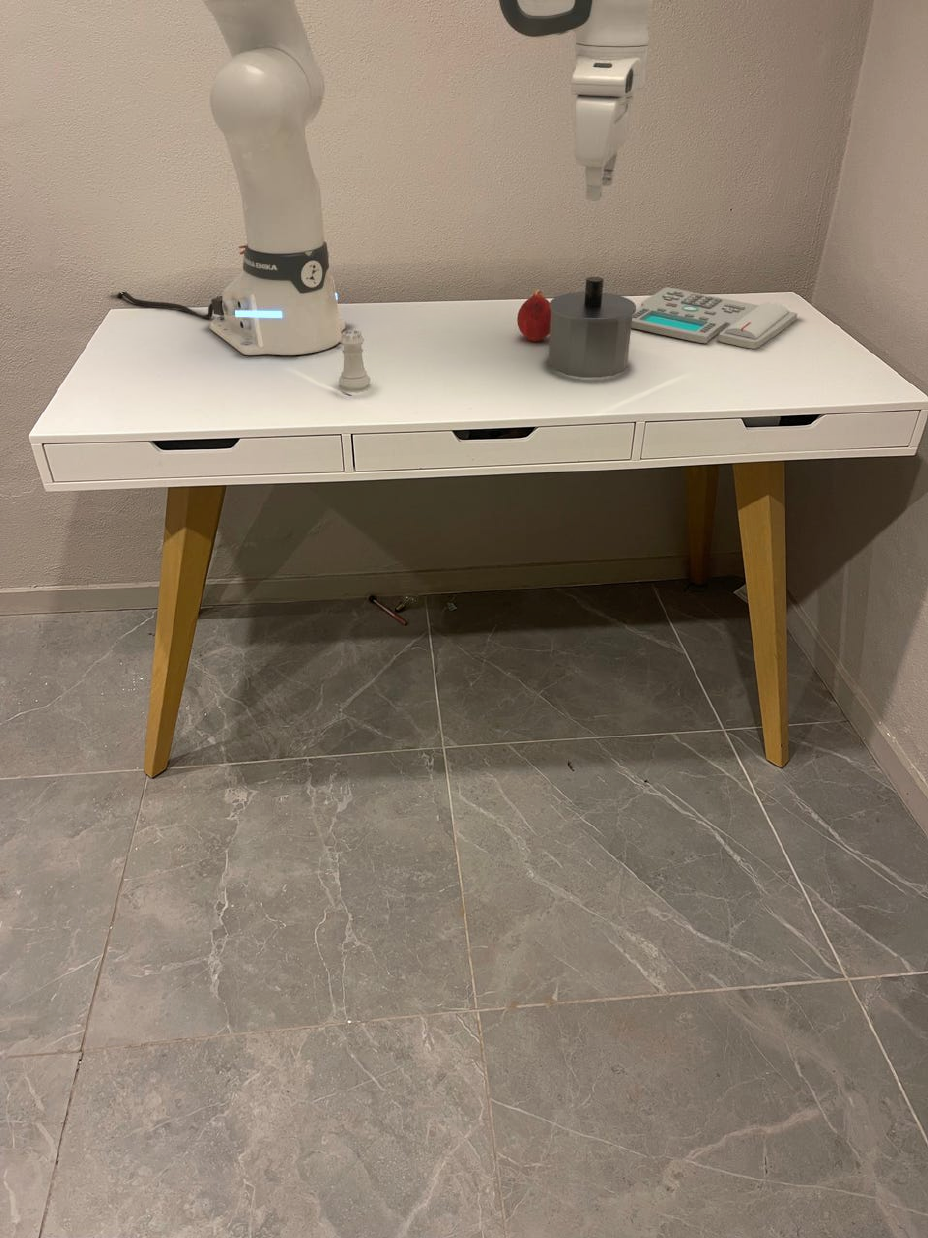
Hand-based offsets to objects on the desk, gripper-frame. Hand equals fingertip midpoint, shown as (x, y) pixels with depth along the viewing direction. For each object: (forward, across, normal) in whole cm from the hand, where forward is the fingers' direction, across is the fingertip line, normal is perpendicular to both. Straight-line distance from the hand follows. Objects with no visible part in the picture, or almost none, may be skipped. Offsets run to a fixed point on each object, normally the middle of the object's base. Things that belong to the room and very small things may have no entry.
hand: (599, 191), depth 126 cm
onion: (+24, -7, -9) cm, 27 cm away
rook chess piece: (+24, +18, -29) cm, 42 cm away
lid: (+15, 0, 0) cm, 15 cm away
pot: (+24, 0, 0) cm, 24 cm away
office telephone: (+24, -25, +15) cm, 38 cm away
